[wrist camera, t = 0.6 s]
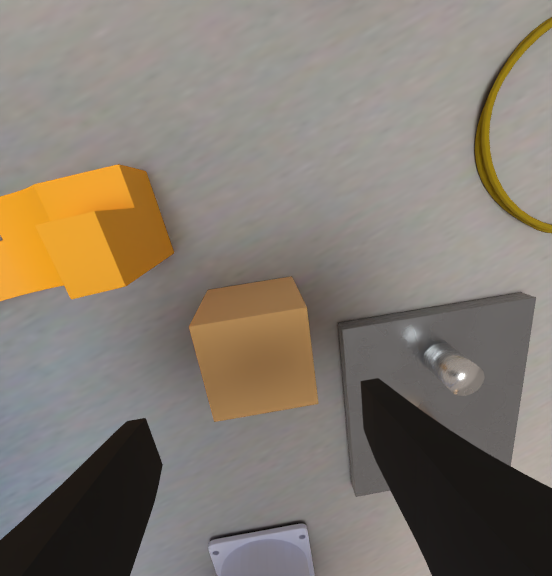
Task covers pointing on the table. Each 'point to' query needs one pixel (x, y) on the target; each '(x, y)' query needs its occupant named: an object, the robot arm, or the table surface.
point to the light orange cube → (254, 349)
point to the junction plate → (423, 389)
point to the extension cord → (483, 143)
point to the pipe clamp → (81, 233)
